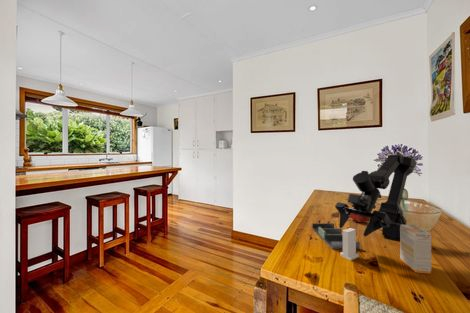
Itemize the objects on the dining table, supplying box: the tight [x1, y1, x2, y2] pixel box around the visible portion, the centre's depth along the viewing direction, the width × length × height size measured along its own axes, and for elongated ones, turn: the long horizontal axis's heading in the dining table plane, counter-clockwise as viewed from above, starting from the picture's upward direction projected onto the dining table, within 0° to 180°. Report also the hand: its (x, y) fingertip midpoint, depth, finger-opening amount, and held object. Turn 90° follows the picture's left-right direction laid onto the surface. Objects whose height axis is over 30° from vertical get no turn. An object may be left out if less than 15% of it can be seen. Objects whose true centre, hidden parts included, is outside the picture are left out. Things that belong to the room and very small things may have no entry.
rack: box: [311, 222, 361, 250], centre depth 91 cm, size 11×22×4 cm, turn 179°
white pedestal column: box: [339, 227, 359, 261], centre depth 75 cm, size 5×4×10 cm
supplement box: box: [399, 224, 432, 275], centre depth 68 cm, size 8×5×13 cm, turn 168°
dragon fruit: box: [349, 207, 370, 224], centre depth 112 cm, size 8×8×12 cm
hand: (351, 231), depth 76 cm, fingers open, 9 cm apart
